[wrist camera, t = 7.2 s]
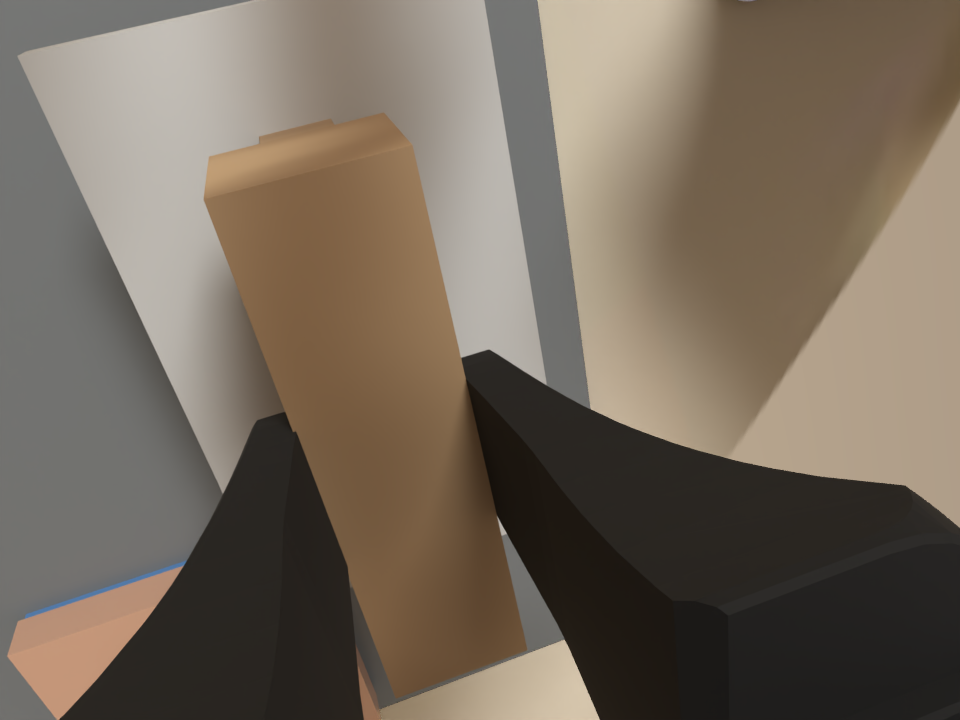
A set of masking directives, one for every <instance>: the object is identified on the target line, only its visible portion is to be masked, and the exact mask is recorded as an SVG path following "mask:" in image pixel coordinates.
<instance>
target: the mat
mask: <svg viewBox="0 0 960 720" xmlns="http://www.w3.org/2000/svg"><path fill="white" fill-rule="evenodd" d="M248 1H252V0H0V720H57V719H56V718H55V717H54V715H53V714H52V713H51V712H50V710H49V709H48V708H47V706H46V705H45V704H44V703H43V701H42V700H41V699H40V698H39V696H38V695H37V694H36V692H35V691H34V690H33V689H32V687H31V686H30V685H29V684H28V682H27V681H26V680H25V678H24V677H23V676H22V675H21V673H20V672H19V671H18V670H17V668H16V667H15V666H14V664H13V663H12V662H11V661H10V659H9V658H8V657H7V655H8V652H9V648H10V645H11V642H12V639H13V635H14V632H15V629H16V626H17V622H18V621H20V620H23V619H25V616H26V614H28V613H31V612H34V611H37V610H40V609H43V608H46V607H49V606H52V605H55V604H58V603H61V602H64V601H67V600H70V599H73V598H76V597H79V596H82V595H85V594H88V593H91V592H94V591H97V590H100V589H103V588H106V587H109V586H112V585H115V584H118V583H121V582H124V581H127V580H130V579H133V578H136V577H139V576H142V575H145V574H148V573H151V572H154V571H157V570H160V569H163V568H166V567H169V566H172V565H175V564H178V563H181V562H184V561H187V559H188V558H189V556H190V554H191V552H192V551H193V549H194V547H195V545H196V544H197V542H198V540H199V538H200V537H201V535H202V533H203V531H204V530H205V528H206V526H207V524H208V523H209V521H210V519H211V517H212V515H213V513H214V511H215V509H216V507H217V505H218V503H219V501H220V499H221V497H222V495H223V493H222V491H221V489H220V486H219V484H218V482H217V480H216V478H215V476H214V474H213V471H212V469H211V467H210V465H209V463H208V461H207V459H206V457H205V454H204V452H203V450H202V448H201V446H200V444H199V442H198V440H197V437H196V435H195V433H194V431H193V429H192V427H191V425H190V423H189V420H188V418H187V416H186V414H185V412H184V410H183V408H182V406H181V403H180V401H179V399H178V397H177V395H176V393H175V391H174V388H173V386H172V384H171V382H170V380H169V378H168V376H167V374H166V371H165V369H164V367H163V365H162V363H161V361H160V359H159V357H158V354H157V352H156V350H155V348H154V346H153V344H152V342H151V340H150V337H149V335H148V333H147V331H146V329H145V327H144V325H143V323H142V320H141V318H140V316H139V314H138V312H137V310H136V308H135V305H134V303H133V301H132V299H131V297H130V295H129V293H128V291H127V288H126V286H125V284H124V282H123V280H122V278H121V276H120V274H119V271H118V269H117V267H116V265H115V263H114V261H113V259H112V257H111V254H110V252H109V250H108V248H107V246H106V244H105V242H104V240H103V237H102V235H101V233H100V231H99V229H98V227H97V225H96V222H95V220H94V218H93V216H92V214H91V212H90V210H89V208H88V205H87V203H86V201H85V199H84V197H83V195H82V193H81V191H80V188H79V186H78V184H77V182H76V180H75V178H74V176H73V174H72V171H71V169H70V167H69V165H68V163H67V161H66V159H65V157H64V154H63V152H62V150H61V148H60V146H59V144H58V142H57V140H56V137H55V135H54V133H53V131H52V129H51V127H50V125H49V122H48V120H47V118H46V116H45V114H44V112H43V110H42V108H41V105H40V103H39V101H38V99H37V97H36V95H35V93H34V91H33V88H32V86H31V84H30V82H29V80H28V78H27V76H26V74H25V71H24V69H23V67H22V65H21V63H20V61H19V59H18V57H17V56H18V55H20V54H22V53H24V52H26V51H29V50H34V49H38V48H43V47H47V46H52V45H56V44H61V43H65V42H69V41H74V40H78V39H83V38H87V37H92V36H96V35H101V34H105V33H110V32H114V31H118V30H123V29H127V28H132V27H136V26H141V25H145V24H150V23H154V22H159V21H163V20H167V19H172V18H176V17H181V16H185V15H190V14H194V13H199V12H203V11H208V10H212V9H216V8H221V7H225V6H230V5H234V4H239V3H243V2H248ZM484 1H485V8H486V14H487V20H488V26H489V32H490V38H491V44H492V51H493V57H494V63H495V69H496V75H497V81H498V88H499V94H500V100H501V106H502V112H503V118H504V124H505V131H506V137H507V143H508V149H509V155H510V161H511V168H512V174H513V180H514V186H515V192H516V198H517V204H518V211H519V217H520V223H521V229H522V235H523V241H524V247H525V254H526V260H527V266H528V272H529V278H530V284H531V291H532V297H533V303H534V309H535V315H536V321H537V327H538V334H539V340H540V346H541V352H542V358H543V364H544V371H545V377H546V383H547V386H549V387H550V388H552V389H554V390H556V391H558V392H559V393H561V394H563V395H565V396H566V397H568V398H570V399H572V400H574V401H575V402H577V403H579V404H581V405H583V406H585V407H587V408H589V409H590V402H589V394H588V387H587V379H586V371H585V363H584V356H583V348H582V340H581V333H580V325H579V317H578V310H577V302H576V294H575V287H574V279H573V271H572V263H571V256H570V248H569V240H568V233H567V225H566V217H565V210H564V202H563V194H562V186H561V179H560V171H559V163H558V156H557V148H556V140H555V133H554V125H553V117H552V110H551V102H550V94H549V86H548V79H547V71H546V63H545V56H544V48H543V40H542V33H541V25H540V17H539V10H538V2H537V0H484ZM502 540H503V544H504V549H505V553H506V558H507V562H508V566H509V571H510V575H511V579H512V584H513V588H514V593H515V597H516V601H517V606H518V610H519V615H520V619H521V623H522V628H523V632H524V637H525V641H526V645H527V651H524V652H522V653H519V654H516V655H513V656H511V657H508V658H505V659H503V660H500V661H497V662H494V663H492V664H489V665H486V666H484V667H481V668H478V669H475V670H473V671H470V672H467V673H464V674H462V675H459V676H456V677H454V678H451V679H448V680H445V681H443V682H440V683H437V684H435V685H432V686H429V687H426V688H424V689H421V690H418V691H416V692H413V693H410V694H407V695H405V696H402V697H399V698H397V699H396V698H395V695H394V693H393V690H392V687H391V685H390V682H389V680H388V677H387V675H386V672H385V669H384V667H383V664H382V662H381V659H380V656H379V654H378V651H377V649H376V646H375V643H374V641H373V638H372V636H371V633H370V630H369V628H368V625H367V623H366V620H365V617H364V615H363V612H362V610H361V607H360V604H359V602H358V599H357V597H356V594H355V591H354V589H353V587H351V588H350V593H351V603H352V613H353V623H354V634H355V643H356V646H357V648H358V651H359V653H360V656H361V658H362V660H363V663H364V665H365V668H366V670H367V673H368V675H369V678H370V680H371V683H372V685H373V687H374V690H375V692H376V695H377V700H378V705H379V709H382V708H384V707H387V706H390V705H392V704H395V703H397V702H400V701H403V700H405V699H408V698H411V697H413V696H416V695H419V694H421V693H424V692H426V691H429V690H432V689H434V688H437V687H440V686H442V685H445V684H448V683H450V682H453V681H456V680H458V679H461V678H463V677H466V676H469V675H471V674H474V673H477V672H479V671H482V670H485V669H487V668H490V667H493V666H495V665H498V664H500V663H503V662H506V661H508V660H511V659H514V658H516V657H519V656H522V655H524V654H527V653H530V652H532V651H535V650H537V649H540V648H543V647H545V646H548V645H551V644H553V643H556V642H559V641H561V640H564V637H563V635H562V633H561V631H560V629H559V627H558V625H557V623H556V621H555V619H554V617H553V616H552V614H551V612H550V610H549V609H548V607H547V605H546V603H545V601H544V600H543V598H542V596H541V594H540V592H539V591H538V589H537V587H536V585H535V583H534V582H533V580H532V578H531V576H530V575H529V573H528V571H527V569H526V567H525V566H524V564H523V562H522V560H521V558H520V557H519V555H518V553H517V551H516V549H515V548H514V546H513V544H512V542H511V540H510V539H509V537H508V535H507V534H505V535H502Z"/></svg>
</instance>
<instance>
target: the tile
mask: <svg viewBox="0 0 960 720" xmlns="http://www.w3.org/2000/svg"><path fill="white" fill-rule="evenodd" d="M185 563H186V561H184V562H181V563H178V564H175V565H172V566H169V567H166V568H163V569H160V570H157V571H154V572H151V573H148V574H145V575H142V576H139V577H136V578H133V579H130V580H127V581H124V582H121V583H118V584H115V585H112V586H109V587H106V588H103V589H100V590H97V591H94V592H91V593H88V594H85V595H82V596H79V597H76V598H73V599H70V600H67V601H64V602H61V603H58V604H55V605H52V606H49V607H46V608H43V609H40V610H37V611H34V612H31V613H28V614H26V616H25V619H23V620H20V621H18V622H17V626H16V629H15V632H14V635H13V639H12V642H11V645H10V648H9V652H8V655H7V657H8V658H9V659H10V661H11V662H12V663H13V664H14V666H15V667H16V668H17V670H18V671H19V672H20V673H21V675H22V676H23V677H24V678H25V680H26V681H27V682H28V684H29V685H30V686H31V687H32V689H33V690H34V691H35V692H36V694H37V695H38V696H39V698H40V699H41V700H42V701H43V703H44V704H45V705H46V706H47V708H48V709H49V710H50V712H51V713H52V714H53V715H54V717H55V718H56V719H57V720H59V719H60V718H61V717H62V716H63V715H64V714H65V713H66V712H67V711H68V710H69V709H70V708H71V707H72V706H73V705H74V703H75V702H76V701H77V700H78V699H79V698H80V697H81V696H82V695H83V694H84V693H85V692H86V691H87V690H88V688H89V687H90V686H91V685H92V684H93V683H94V682H95V681H96V680H97V679H98V677H99V676H100V675H101V674H102V673H103V671H104V670H105V669H106V668H107V667H108V665H109V664H110V663H111V662H112V661H113V659H114V658H115V657H116V656H117V655H118V653H119V652H120V651H121V650H122V649H123V647H124V646H125V645H126V644H127V643H128V641H129V640H130V639H131V638H132V637H133V635H134V634H135V633H136V632H137V631H138V629H139V628H140V627H141V626H142V625H143V623H144V622H145V621H146V619H147V618H148V617H149V615H150V614H151V613H152V611H153V610H154V609H155V607H156V606H157V604H158V603H159V602H160V600H161V599H162V597H163V596H164V595H165V593H166V592H167V590H168V589H169V588H170V586H171V585H172V583H173V582H174V580H175V579H176V577H177V575H178V574H179V572H180V571H181V569H182V568H183V566H184V564H185ZM355 644H356V643H355ZM356 654H357V665H358V675H359V685H360V696H361V703H362V710H363V717H364V720H381V715H380V710H379V705H378V700H377V695H376V692H375V690H374V687H373V685H372V683H371V680H370V678H369V675H368V673H367V670H366V668H365V665H364V663H363V660H362V658H361V656H360V653H359V651H358V648H357V646H356Z"/></svg>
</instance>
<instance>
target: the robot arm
mask: <svg viewBox="0 0 960 720" xmlns="http://www.w3.org/2000/svg"><path fill="white" fill-rule="evenodd" d="M738 1H755V0H738ZM461 360H462V364H463V369H464V373H465V378H466V382H467V386H468V391H469V395H470V400H471V404H472V408H473V413H474V417H475V421H476V426H477V430H478V435H479V439H480V443H481V448H482V452H483V457H484V461H485V465H486V470H487V474H488V479H489V483H490V487H491V492H492V496H493V500H494V505H495V509H496V514H497V517H498V519H499V520H500V522H501V524H502V526H503V528H504V530H505V531H506V533H507V535H508V537H509V539H510V540H511V542H512V544H513V546H514V548H515V549H516V551H517V553H518V555H519V557H520V558H521V560H522V562H523V564H524V566H525V567H526V569H527V571H528V573H529V575H530V576H531V578H532V580H533V582H534V583H535V585H536V587H537V589H538V591H539V592H540V594H541V596H542V598H543V600H544V601H545V603H546V605H547V607H548V609H549V610H550V612H551V614H552V616H553V617H554V619H555V621H556V623H557V625H558V627H559V629H560V631H561V633H562V635H563V637H564V639H565V641H566V643H567V645H568V647H569V649H570V651H571V653H572V656H573V658H574V660H575V663H576V665H577V667H578V670H579V672H580V674H581V677H582V679H583V681H584V683H585V686H586V688H587V690H588V693H589V695H590V697H591V700H592V702H593V704H594V707H595V709H596V711H597V714H598V716H599V719H600V720H960V528H959V527H958V526H957V525H956V524H954V523H953V522H952V521H951V520H950V519H948V518H947V517H946V516H945V515H944V514H942V513H941V512H940V511H939V510H937V509H936V508H934V507H933V506H932V505H931V504H930V503H928V502H927V501H926V500H924V499H923V498H922V497H920V496H919V495H917V494H916V493H915V492H913V491H912V490H910V489H909V488H908V487H906V486H903V485H894V484H885V483H874V482H865V481H856V480H847V479H837V478H827V477H820V476H813V475H807V474H801V473H795V472H789V471H784V470H778V469H772V468H767V467H762V466H758V465H753V464H748V463H743V462H739V461H735V460H731V459H727V458H724V457H720V456H716V455H712V454H709V453H705V452H701V451H697V450H694V449H691V448H687V447H684V446H681V445H678V444H674V443H671V442H669V441H666V440H663V439H660V438H658V437H655V436H652V435H649V434H647V433H644V432H641V431H638V430H636V429H633V428H631V427H628V426H626V425H624V424H621V423H619V422H616V421H614V420H612V419H610V418H608V417H606V416H604V415H602V414H599V413H597V412H595V411H593V410H591V409H589V408H587V407H585V406H583V405H581V404H579V403H577V402H575V401H574V400H572V399H570V398H568V397H566V396H565V395H563V394H561V393H559V392H558V391H556V390H554V389H552V388H550V387H549V386H547V385H545V384H544V383H542V382H540V381H539V380H537V379H536V378H534V377H532V376H531V375H529V374H528V373H526V372H524V371H523V370H521V369H520V368H518V367H517V366H515V365H514V364H512V363H510V362H509V361H507V360H506V359H504V358H503V357H501V356H500V355H498V354H496V353H495V352H493V351H491V350H490V349H488V350H485V351H482V352H478V353H475V354H472V355H469V356H465V357H462V358H461ZM59 720H364V717H363V710H362V703H361V696H360V685H359V675H358V665H357V654H356V644H355V634H354V623H353V613H352V603H351V593H350V583H349V574H348V566H347V563H346V561H345V558H344V555H343V553H342V550H341V547H340V545H339V542H338V540H337V537H336V534H335V532H334V529H333V526H332V524H331V521H330V519H329V516H328V513H327V511H326V508H325V505H324V503H323V500H322V498H321V495H320V492H319V490H318V487H317V484H316V482H315V479H314V477H313V474H312V471H311V469H310V466H309V464H308V461H307V458H306V456H305V453H304V450H303V448H302V445H301V443H300V440H299V437H298V435H297V432H296V431H295V432H293V431H292V428H291V425H290V423H289V420H288V418H287V415H286V412H282V413H279V414H275V415H272V416H269V417H266V418H262V419H259V420H257V421H256V423H255V424H254V426H253V428H252V429H251V432H250V434H249V437H248V439H247V442H246V444H245V446H244V449H243V451H242V453H241V456H240V458H239V460H238V463H237V465H236V467H235V469H234V472H233V474H232V476H231V478H230V481H229V483H228V485H227V487H226V489H225V491H224V493H223V495H222V497H221V499H220V501H219V503H218V505H217V507H216V509H215V511H214V513H213V515H212V517H211V519H210V521H209V523H208V524H207V526H206V528H205V530H204V531H203V533H202V535H201V537H200V538H199V540H198V542H197V544H196V545H195V547H194V549H193V551H192V552H191V554H190V556H189V558H188V559H187V561H186V563H185V564H184V566H183V568H182V569H181V571H180V572H179V574H178V575H177V577H176V579H175V580H174V582H173V583H172V585H171V586H170V588H169V589H168V590H167V592H166V593H165V595H164V596H163V597H162V599H161V600H160V602H159V603H158V604H157V606H156V607H155V609H154V610H153V611H152V613H151V614H150V615H149V617H148V618H147V619H146V621H145V622H144V623H143V625H142V626H141V627H140V628H139V629H138V631H137V632H136V633H135V634H134V635H133V637H132V638H131V639H130V640H129V641H128V643H127V644H126V645H125V646H124V647H123V649H122V650H121V651H120V652H119V653H118V655H117V656H116V657H115V658H114V659H113V661H112V662H111V663H110V664H109V665H108V667H107V668H106V669H105V670H104V671H103V673H102V674H101V675H100V676H99V677H98V679H97V680H96V681H95V682H94V683H93V684H92V685H91V686H90V687H89V688H88V690H87V691H86V692H85V693H84V694H83V695H82V696H81V697H80V698H79V699H78V700H77V701H76V702H75V703H74V705H73V706H72V707H71V708H70V709H69V710H68V711H67V712H66V713H65V714H64V715H63V716H62V717H61V718H60V719H59Z"/></svg>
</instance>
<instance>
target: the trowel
mask: <svg viewBox="0 0 960 720" xmlns="http://www.w3.org/2000/svg"><path fill="white" fill-rule="evenodd" d="M17 57H18V59H19V61H20V63H21V65H22V67H23V69H24V71H25V74H26V76H27V78H28V80H29V82H30V84H31V86H32V88H33V91H34V93H35V95H36V97H37V99H38V101H39V103H40V105H41V108H42V110H43V112H44V114H45V116H46V118H47V120H48V122H49V125H50V127H51V129H52V131H53V133H54V135H55V137H56V140H57V142H58V144H59V146H60V148H61V150H62V152H63V154H64V157H65V159H66V161H67V163H68V165H69V167H70V169H71V171H72V174H73V176H74V178H75V180H76V182H77V184H78V186H79V188H80V191H81V193H82V195H83V197H84V199H85V201H86V203H87V205H88V208H89V210H90V212H91V214H92V216H93V218H94V220H95V222H96V225H97V227H98V229H99V231H100V233H101V235H102V237H103V240H104V242H105V244H106V246H107V248H108V250H109V252H110V254H111V257H112V259H113V261H114V263H115V265H116V267H117V269H118V271H119V274H120V276H121V278H122V280H123V282H124V284H125V286H126V288H127V291H128V293H129V295H130V297H131V299H132V301H133V303H134V305H135V308H136V310H137V312H138V314H139V316H140V318H141V320H142V323H143V325H144V327H145V329H146V331H147V333H148V335H149V337H150V340H151V342H152V344H153V346H154V348H155V350H156V352H157V354H158V357H159V359H160V361H161V363H162V365H163V367H164V369H165V371H166V374H167V376H168V378H169V380H170V382H171V384H172V386H173V388H174V391H175V393H176V395H177V397H178V399H179V401H180V403H181V406H182V408H183V410H184V412H185V414H186V416H187V418H188V420H189V423H190V425H191V427H192V429H193V431H194V433H195V435H196V437H197V440H198V442H199V444H200V446H201V448H202V450H203V452H204V454H205V457H206V459H207V461H208V463H209V465H210V467H211V469H212V471H213V474H214V476H215V478H216V480H217V482H218V484H219V486H220V489H221V491H222V493H224V491H225V489H226V487H227V485H228V483H229V481H230V478H231V476H232V474H233V472H234V469H235V467H236V465H237V463H238V460H239V458H240V456H241V453H242V451H243V449H244V446H245V444H246V442H247V439H248V437H249V434H250V432H251V429H252V428H253V426H254V424H255V423H256V421H257V420H259V419H262V418H266V417H269V416H272V415H275V414H279V413H282V412H286V415H287V418H288V420H289V423H290V425H291V428H292V431H293V432H295V431H296V432H297V435H298V437H299V440H300V443H301V445H302V448H303V450H304V453H305V456H306V458H307V461H308V464H309V466H310V469H311V471H312V474H313V477H314V479H315V482H316V484H317V487H318V490H319V492H320V495H321V498H322V500H323V503H324V505H325V508H326V511H327V513H328V516H329V519H330V521H331V524H332V526H333V529H334V532H335V534H336V537H337V540H338V542H339V545H340V547H341V550H342V553H343V555H344V558H345V561H346V563H347V566H348V574H349V583H350V588H351V587H353V589H354V591H355V594H356V597H357V599H358V602H359V604H360V607H361V610H362V612H363V615H364V617H365V620H366V623H367V625H368V628H369V630H370V633H371V636H372V638H373V641H374V643H375V646H376V649H377V651H378V654H379V656H380V659H381V662H382V664H383V667H384V669H385V672H386V675H387V677H388V680H389V682H390V685H391V687H392V690H393V693H394V695H395V698H396V699H397V698H399V697H402V696H405V695H407V694H410V693H413V692H416V691H418V690H421V689H424V688H426V687H429V686H432V685H435V684H437V683H440V682H443V681H445V680H448V679H451V678H454V677H456V676H459V675H462V674H464V673H467V672H470V671H473V670H475V669H478V668H481V667H484V666H486V665H489V664H492V663H494V662H497V661H500V660H503V659H505V658H508V657H511V656H513V655H516V654H519V653H522V652H524V651H527V645H526V641H525V637H524V632H523V628H522V623H521V619H520V615H519V610H518V606H517V601H516V597H515V593H514V588H513V584H512V579H511V575H510V571H509V566H508V562H507V558H506V553H505V549H504V544H503V540H502V535H505V534H507V533H506V531H505V530H504V528H503V526H502V524H501V522H500V520H499V519H498V517H497V514H496V509H495V505H494V500H493V496H492V492H491V487H490V483H489V479H488V474H487V470H486V465H485V461H484V457H483V452H482V448H481V443H480V439H479V435H478V430H477V426H476V421H475V417H474V413H473V408H472V404H471V400H470V395H469V391H468V386H467V382H466V378H465V373H464V369H463V364H462V360H461V358H462V357H465V356H469V355H472V354H475V353H478V352H482V351H485V350H488V349H490V350H491V351H493V352H495V353H496V354H498V355H500V356H501V357H503V358H504V359H506V360H507V361H509V362H510V363H512V364H514V365H515V366H517V367H518V368H520V369H521V370H523V371H524V372H526V373H528V374H529V375H531V376H532V377H534V378H536V379H537V380H539V381H540V382H542V383H544V384H545V385H547V383H546V377H545V371H544V364H543V358H542V352H541V346H540V340H539V334H538V327H537V321H536V315H535V309H534V303H533V297H532V291H531V284H530V278H529V272H528V266H527V260H526V254H525V247H524V241H523V235H522V229H521V223H520V217H519V211H518V204H517V198H516V192H515V186H514V180H513V174H512V168H511V161H510V155H509V149H508V143H507V137H506V131H505V124H504V118H503V112H502V106H501V100H500V94H499V88H498V81H497V75H496V69H495V63H494V57H493V51H492V44H491V38H490V32H489V26H488V20H487V14H486V8H485V1H484V0H252V1H248V2H243V3H239V4H234V5H230V6H225V7H221V8H216V9H212V10H208V11H203V12H199V13H194V14H190V15H185V16H181V17H176V18H172V19H167V20H163V21H159V22H154V23H150V24H145V25H141V26H136V27H132V28H127V29H123V30H118V31H114V32H110V33H105V34H101V35H96V36H92V37H87V38H83V39H78V40H74V41H69V42H65V43H61V44H56V45H52V46H47V47H43V48H38V49H34V50H29V51H26V52H24V53H22V54H20V55H18V56H17Z"/></svg>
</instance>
